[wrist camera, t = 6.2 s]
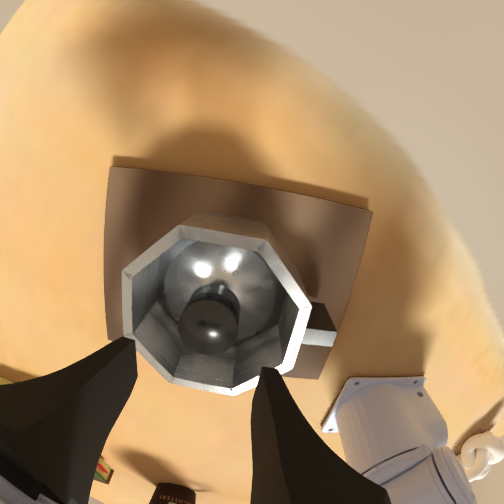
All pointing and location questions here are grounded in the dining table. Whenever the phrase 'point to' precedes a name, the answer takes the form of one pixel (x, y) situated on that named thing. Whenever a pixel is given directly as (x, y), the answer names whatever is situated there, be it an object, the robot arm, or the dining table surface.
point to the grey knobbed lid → (218, 295)
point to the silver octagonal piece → (243, 351)
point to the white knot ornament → (480, 454)
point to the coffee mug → (172, 494)
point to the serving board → (240, 205)
